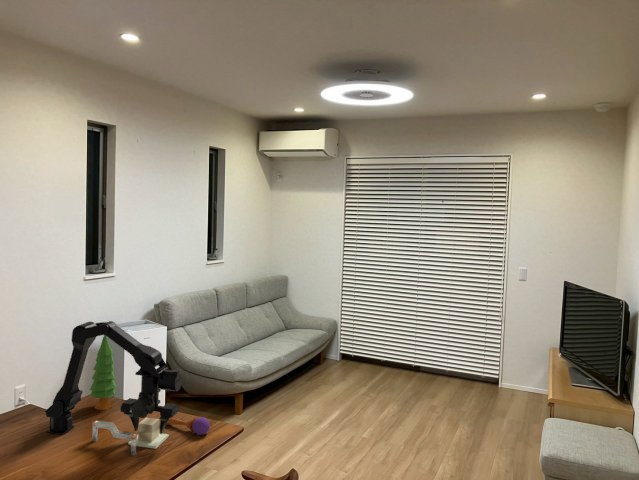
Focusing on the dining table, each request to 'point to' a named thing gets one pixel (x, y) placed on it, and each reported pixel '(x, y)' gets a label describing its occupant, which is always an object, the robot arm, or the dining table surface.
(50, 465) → the dining table surface
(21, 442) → the dining table surface
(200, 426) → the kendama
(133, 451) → the steel handle
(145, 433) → the birch block
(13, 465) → the dining table surface
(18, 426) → the dining table surface
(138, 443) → the sage pad
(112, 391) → the decorative tree
